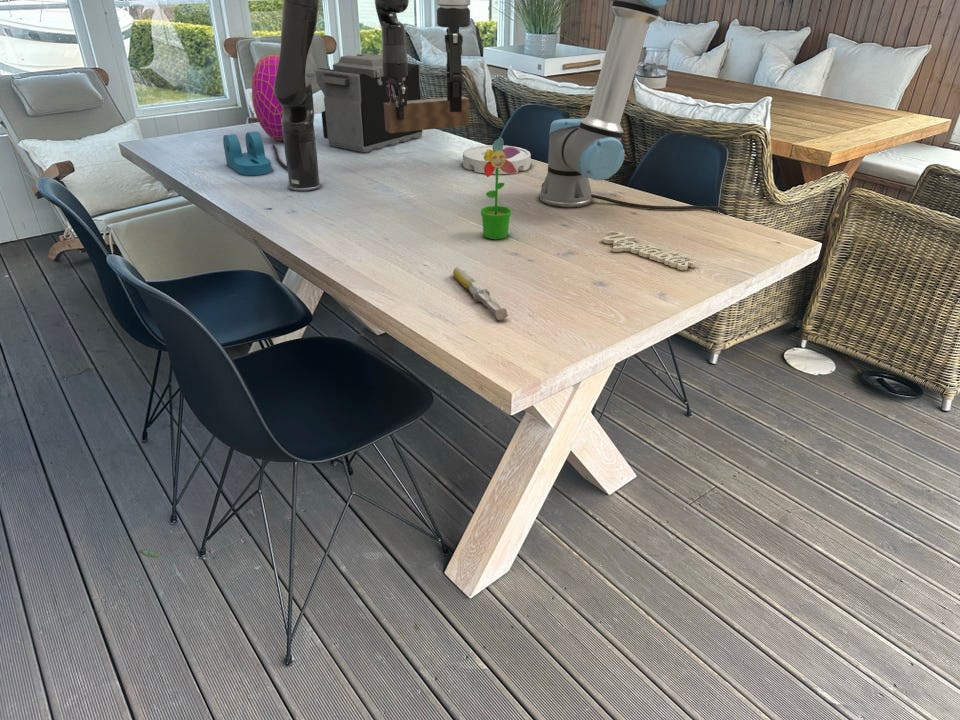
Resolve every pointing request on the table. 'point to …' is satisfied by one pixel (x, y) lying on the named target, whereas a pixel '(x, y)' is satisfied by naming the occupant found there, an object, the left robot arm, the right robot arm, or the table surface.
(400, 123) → the bar
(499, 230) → the potted flower
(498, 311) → the syringe
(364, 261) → the table surface
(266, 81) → the decorative egg
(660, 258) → the decorative sign
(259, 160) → the camera mount
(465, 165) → the ashtray
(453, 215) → the table surface
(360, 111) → the cooler box
